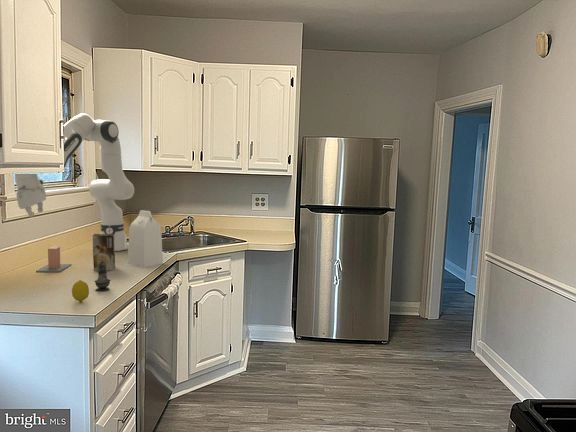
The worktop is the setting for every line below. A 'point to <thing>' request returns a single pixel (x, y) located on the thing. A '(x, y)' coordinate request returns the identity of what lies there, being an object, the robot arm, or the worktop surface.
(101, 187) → the robot arm
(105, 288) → the dark ornate vase
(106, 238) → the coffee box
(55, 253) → the stub
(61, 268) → the mat
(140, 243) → the milk
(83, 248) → the worktop surface
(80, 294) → the lemon
